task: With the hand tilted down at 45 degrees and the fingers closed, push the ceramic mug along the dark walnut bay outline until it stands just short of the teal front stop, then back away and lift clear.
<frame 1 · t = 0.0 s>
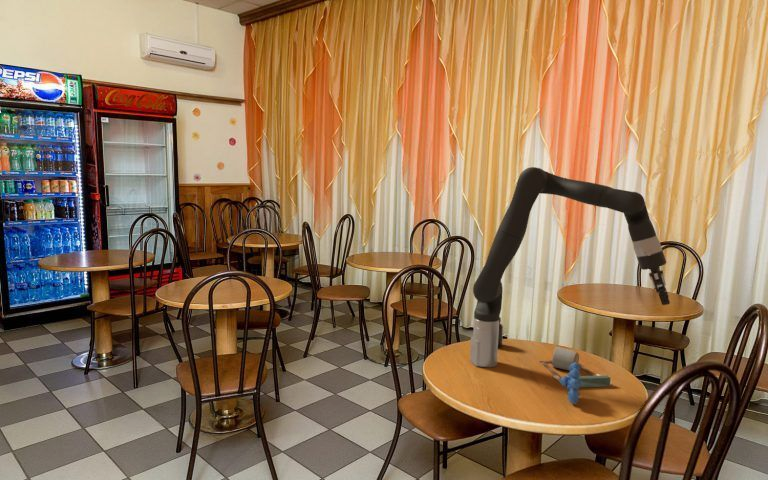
hand: (665, 301, 154), 31 cm above the table, tool tilted 20°, fingers open, 8 cm apart
grapes: (569, 400, 154), on the table
bay: (572, 373, 176), on the table
supplement bottle: (493, 345, 204), on the table
ceramic mug: (565, 368, 181), on the table
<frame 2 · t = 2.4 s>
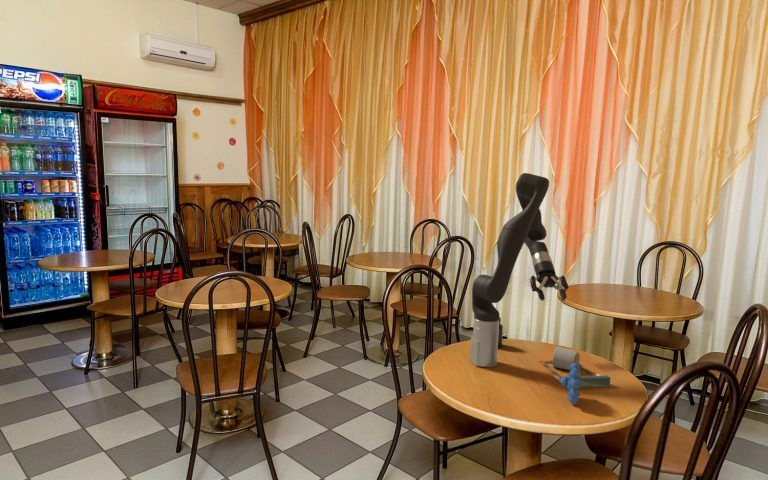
hand: (553, 299, 190), 23 cm above the table, tool tilted 45°, fingers open, 8 cm apart
ceramic mug: (565, 368, 181), on the table, touching bay
everything else where it was.
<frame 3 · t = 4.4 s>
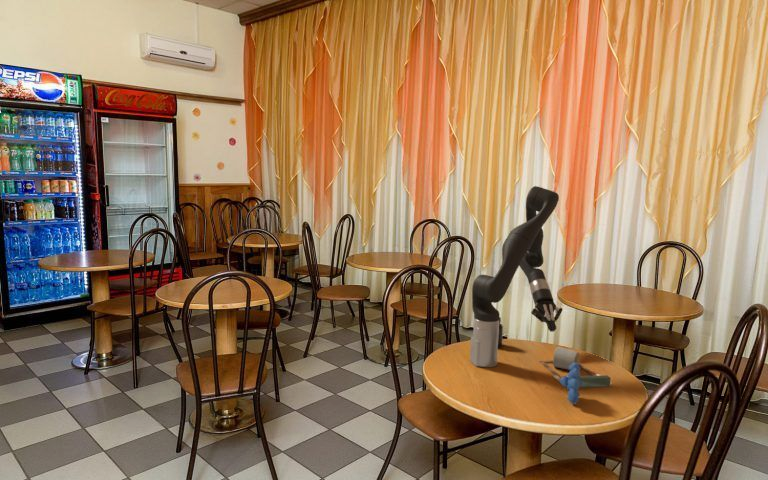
hand: (553, 330, 191), 11 cm above the table, tool tilted 45°, fingers closed
ceramic mug: (566, 368, 181), on the table
everything else where it was.
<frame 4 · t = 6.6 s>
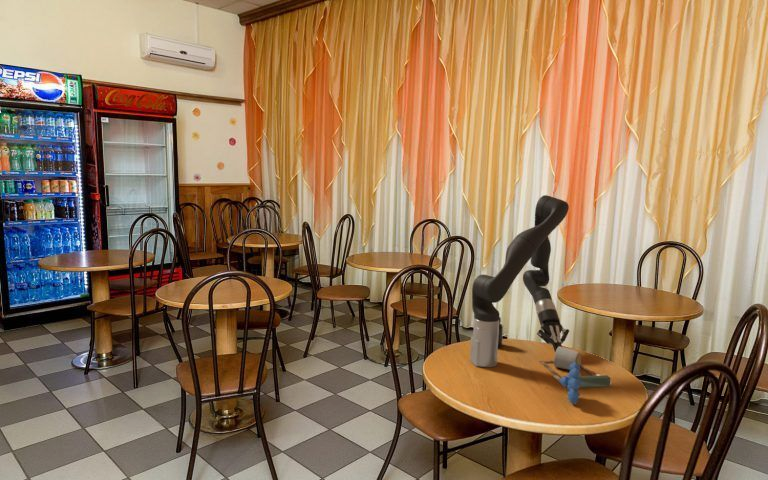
hand: (559, 353, 185), 4 cm above the table, tool tilted 45°, fingers closed
ceramic mug: (567, 368, 181), on the table, touching gripper
everything else where it was.
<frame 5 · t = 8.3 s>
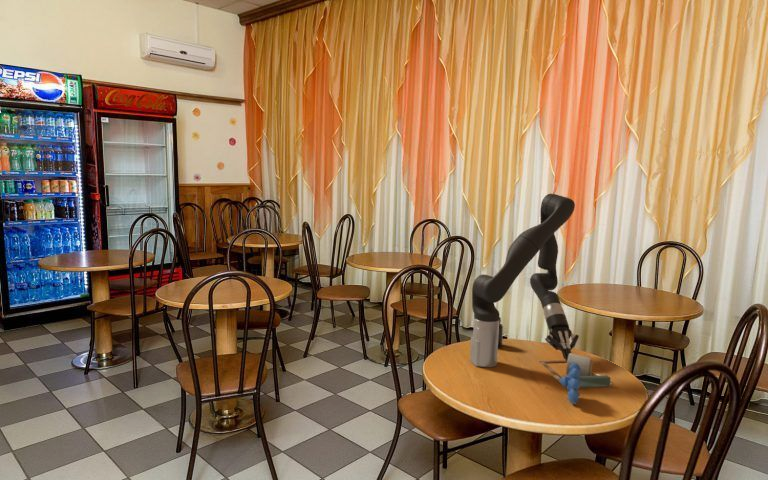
hand: (569, 359, 178), 4 cm above the table, tool tilted 45°, fingers closed
ceramic mug: (578, 375, 175), on the table, touching gripper
everything else where it was.
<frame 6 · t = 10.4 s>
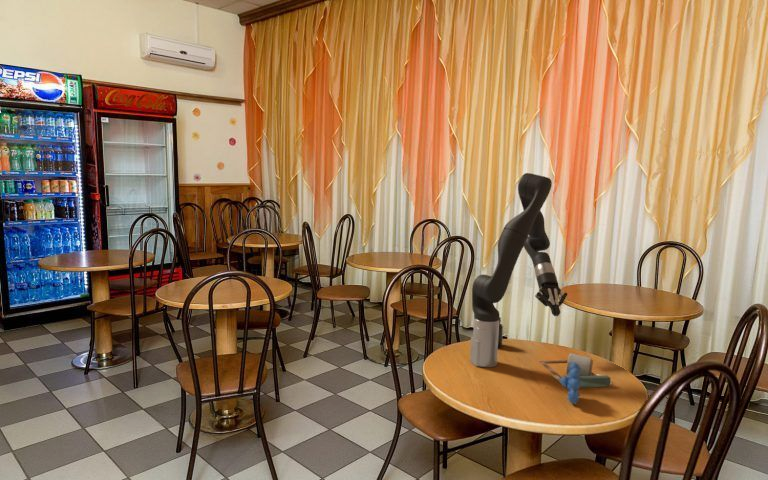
hand: (556, 315, 186), 18 cm above the table, tool tilted 45°, fingers closed
ceramic mug: (578, 375, 175), on the table, touching bay
everything else where it was.
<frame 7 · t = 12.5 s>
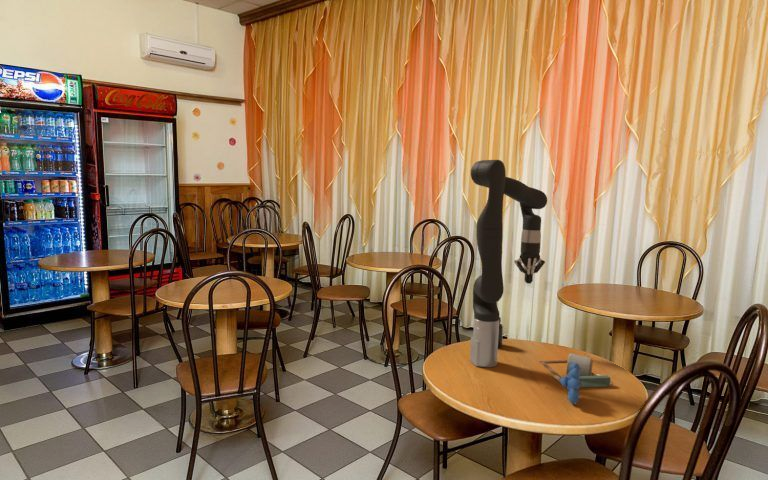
hand: (528, 283, 199), 27 cm above the table, tool pointing down, fingers closed
nothing on the table moved.
at the end: ceramic mug inside the target area (3.9 cm from its centre), on the table; ceramic mug moved 6.9 cm from its start; ceramic mug tilted 0° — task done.
